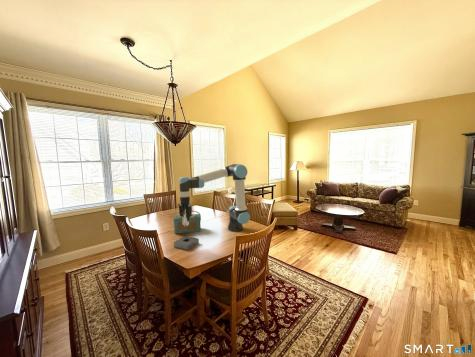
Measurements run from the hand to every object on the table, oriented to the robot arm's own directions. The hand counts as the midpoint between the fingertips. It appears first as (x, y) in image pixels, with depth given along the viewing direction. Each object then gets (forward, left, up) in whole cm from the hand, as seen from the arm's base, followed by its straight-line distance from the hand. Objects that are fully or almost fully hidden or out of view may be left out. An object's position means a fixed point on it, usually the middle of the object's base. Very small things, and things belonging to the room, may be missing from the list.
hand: (185, 224), depth 162 cm
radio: (+20, -25, -17) cm, 36 cm away
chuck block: (0, 0, -17) cm, 17 cm away
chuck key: (0, 0, -1) cm, 1 cm away
